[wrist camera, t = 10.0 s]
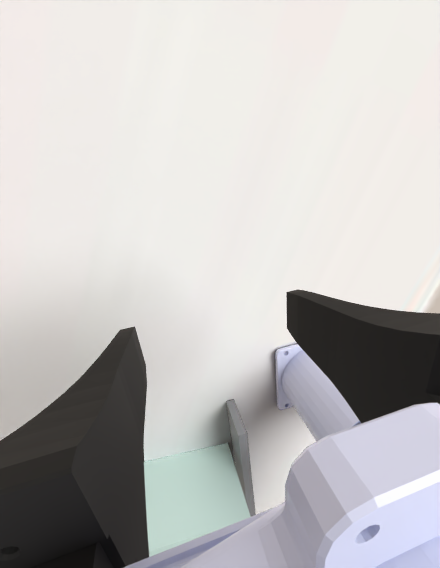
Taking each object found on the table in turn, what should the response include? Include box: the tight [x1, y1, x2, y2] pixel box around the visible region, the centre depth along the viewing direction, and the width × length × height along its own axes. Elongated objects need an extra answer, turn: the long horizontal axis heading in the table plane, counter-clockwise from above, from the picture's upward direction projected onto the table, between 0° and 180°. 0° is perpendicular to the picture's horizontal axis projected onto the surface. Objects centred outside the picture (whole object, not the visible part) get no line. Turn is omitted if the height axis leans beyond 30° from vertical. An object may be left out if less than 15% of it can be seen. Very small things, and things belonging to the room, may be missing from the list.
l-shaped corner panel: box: [144, 443, 251, 557], centre depth 27 cm, size 12×12×8 cm
